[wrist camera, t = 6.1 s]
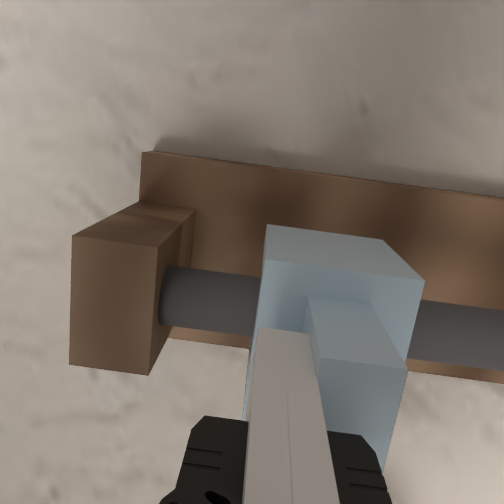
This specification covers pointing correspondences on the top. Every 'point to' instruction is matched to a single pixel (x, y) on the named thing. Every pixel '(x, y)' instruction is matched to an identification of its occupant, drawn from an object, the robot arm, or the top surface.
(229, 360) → the top surface
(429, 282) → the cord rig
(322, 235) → the light blue slider block
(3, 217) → the top surface
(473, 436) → the top surface
